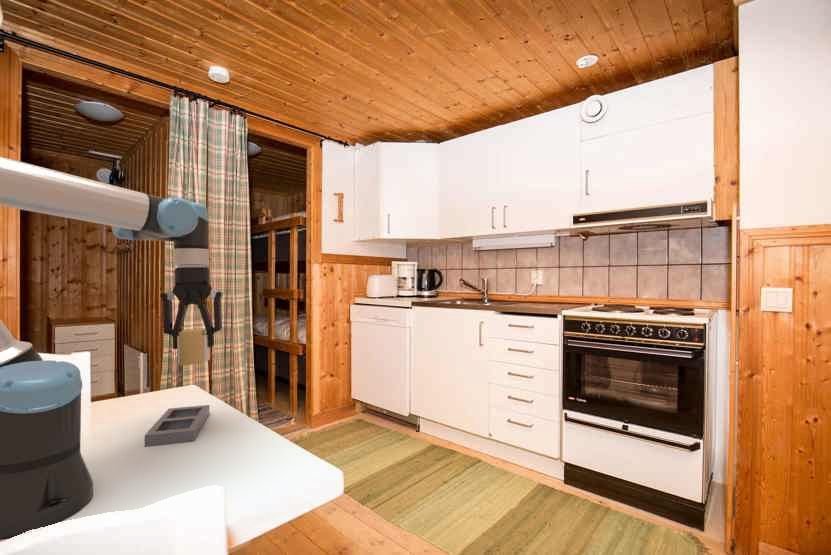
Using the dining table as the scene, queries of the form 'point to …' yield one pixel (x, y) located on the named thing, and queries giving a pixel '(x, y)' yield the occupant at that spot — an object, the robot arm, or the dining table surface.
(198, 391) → the dining table surface
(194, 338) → the block
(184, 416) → the rail
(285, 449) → the dining table surface
